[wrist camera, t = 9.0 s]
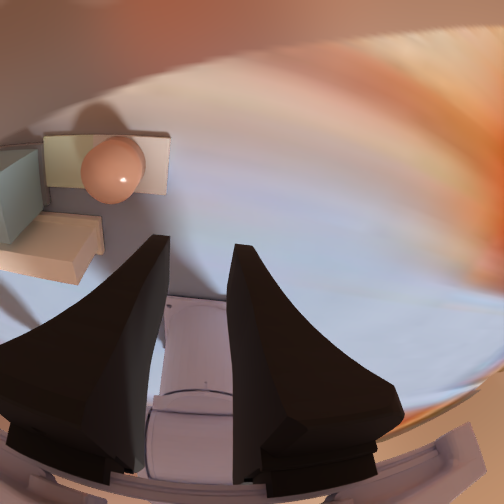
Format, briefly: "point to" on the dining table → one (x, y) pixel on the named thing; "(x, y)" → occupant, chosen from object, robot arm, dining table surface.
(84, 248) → the tan rectangular block
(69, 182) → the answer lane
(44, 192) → the pad
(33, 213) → the blue-grey cube
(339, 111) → the dining table surface
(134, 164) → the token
